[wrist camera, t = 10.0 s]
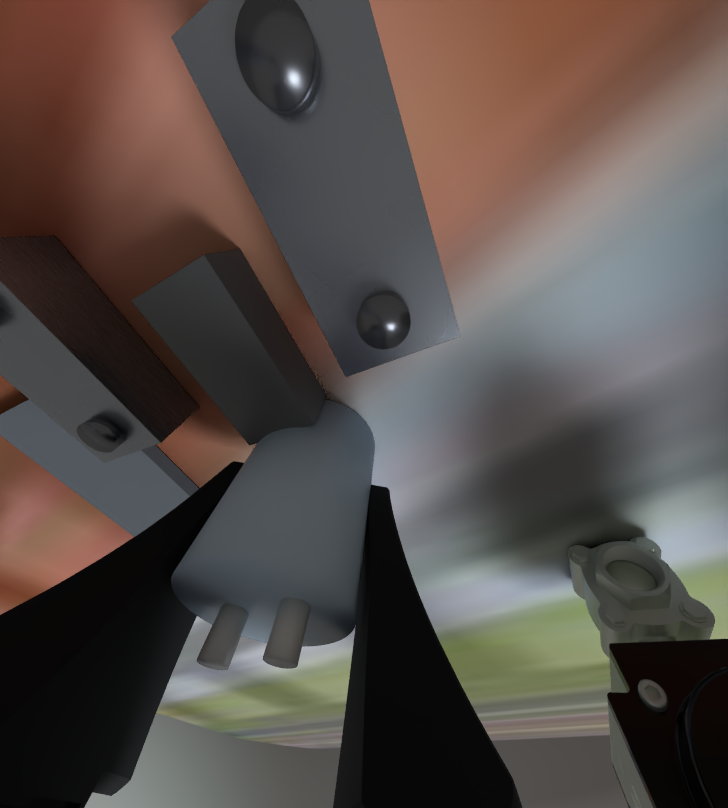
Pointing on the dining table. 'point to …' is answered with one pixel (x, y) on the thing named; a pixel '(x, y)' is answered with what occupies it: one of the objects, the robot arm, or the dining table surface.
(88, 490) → the grey flat plate
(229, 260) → the plug
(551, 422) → the dining table surface
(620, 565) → the pneumatic valve
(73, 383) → the channel
